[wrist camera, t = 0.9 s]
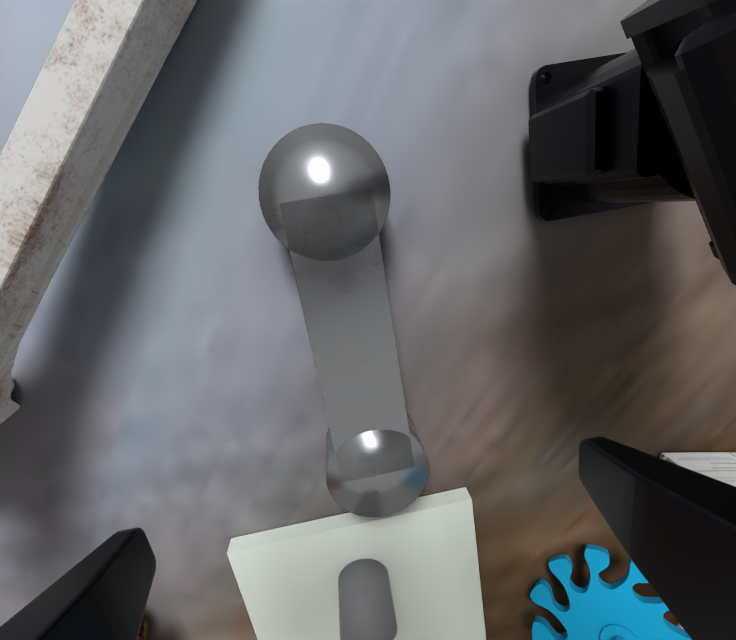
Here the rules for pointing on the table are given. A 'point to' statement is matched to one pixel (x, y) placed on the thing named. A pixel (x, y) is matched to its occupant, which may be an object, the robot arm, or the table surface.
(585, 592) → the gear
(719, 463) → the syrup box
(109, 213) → the table surface
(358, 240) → the ball-ended metal rod
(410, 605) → the peg board
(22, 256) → the wrench
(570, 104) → the robot arm
